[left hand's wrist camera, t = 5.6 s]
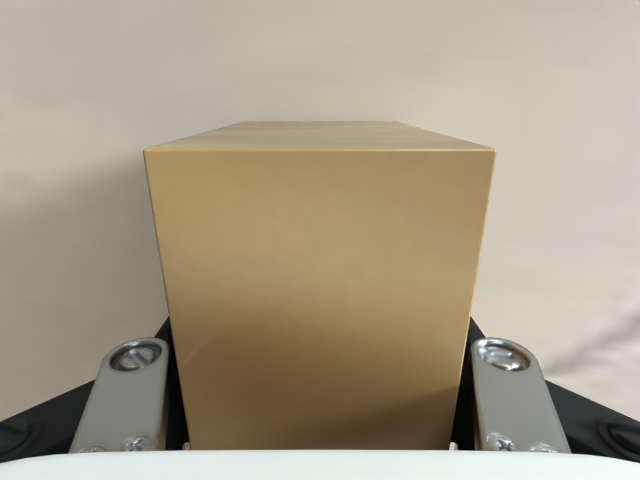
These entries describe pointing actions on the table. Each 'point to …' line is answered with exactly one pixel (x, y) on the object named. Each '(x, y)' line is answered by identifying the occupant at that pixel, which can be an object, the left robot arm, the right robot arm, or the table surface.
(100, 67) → the table surface
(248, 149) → the bar
